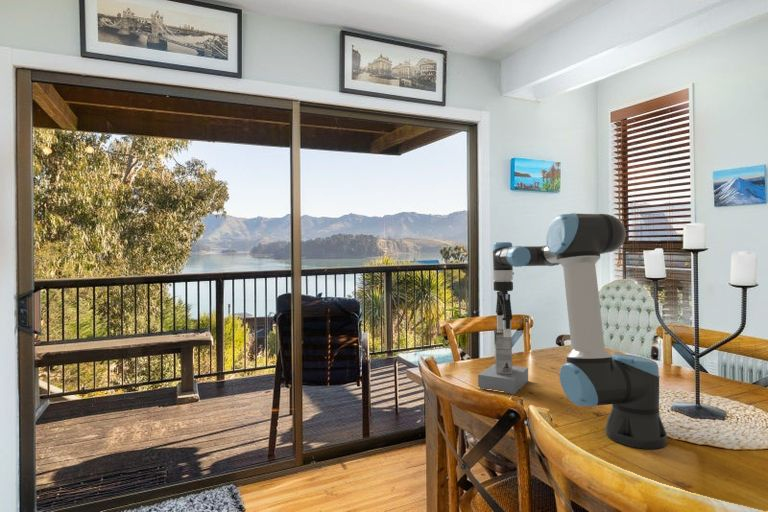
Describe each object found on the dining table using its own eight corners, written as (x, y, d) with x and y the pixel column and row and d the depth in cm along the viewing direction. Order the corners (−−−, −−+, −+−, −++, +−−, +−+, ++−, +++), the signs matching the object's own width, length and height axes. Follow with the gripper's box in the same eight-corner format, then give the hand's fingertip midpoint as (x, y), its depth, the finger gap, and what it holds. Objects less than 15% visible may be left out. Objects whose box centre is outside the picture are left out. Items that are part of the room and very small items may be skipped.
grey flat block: (514, 395, 167) (514, 379, 167) (478, 390, 174) (478, 374, 174) (528, 382, 184) (528, 367, 184) (494, 377, 191) (494, 363, 191)
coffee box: (494, 368, 184) (493, 329, 184) (510, 368, 183) (509, 329, 183) (496, 374, 175) (494, 332, 175) (513, 374, 174) (511, 333, 174)
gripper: (520, 282, 166) (520, 339, 166) (506, 279, 191) (507, 329, 191) (499, 282, 166) (500, 339, 166) (488, 279, 191) (489, 329, 191)
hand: (503, 334), depth 178 cm, fingers open, 13 cm apart
